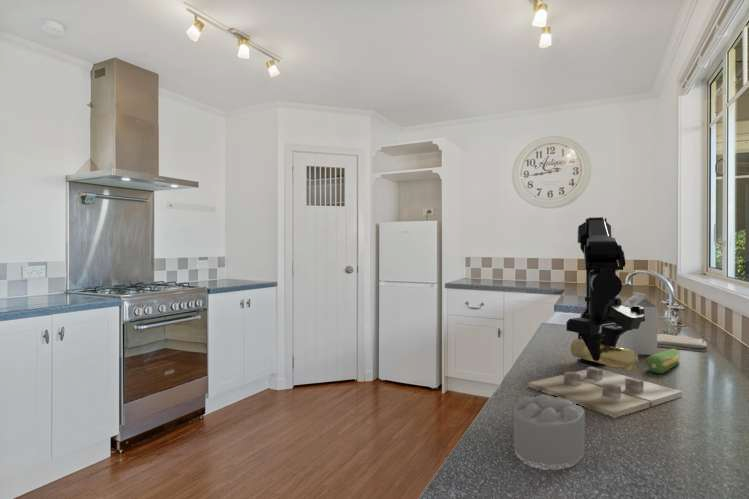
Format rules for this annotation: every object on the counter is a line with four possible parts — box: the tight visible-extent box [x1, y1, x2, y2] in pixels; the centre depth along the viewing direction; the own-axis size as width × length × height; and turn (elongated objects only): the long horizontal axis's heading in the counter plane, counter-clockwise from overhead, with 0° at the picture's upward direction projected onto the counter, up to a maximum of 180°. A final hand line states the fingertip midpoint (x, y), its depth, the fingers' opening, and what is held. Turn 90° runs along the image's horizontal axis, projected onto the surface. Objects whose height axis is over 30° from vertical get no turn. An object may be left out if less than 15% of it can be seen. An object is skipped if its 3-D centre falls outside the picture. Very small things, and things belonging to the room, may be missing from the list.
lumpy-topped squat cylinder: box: [513, 393, 586, 464], centre depth 74 cm, size 10×13×9 cm
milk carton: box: [622, 291, 658, 356], centre depth 139 cm, size 7×7×19 cm
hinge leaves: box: [528, 366, 683, 419], centre depth 103 cm, size 22×25×4 cm
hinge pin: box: [570, 338, 639, 372], centre depth 103 cm, size 14×4×4 cm, turn 28°
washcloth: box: [657, 333, 709, 353], centre depth 149 cm, size 12×18×3 cm, turn 55°
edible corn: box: [646, 348, 680, 374], centre depth 122 cm, size 5×20×5 cm
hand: (602, 359), depth 103 cm, fingers closed on hinge pin, 4 cm apart
